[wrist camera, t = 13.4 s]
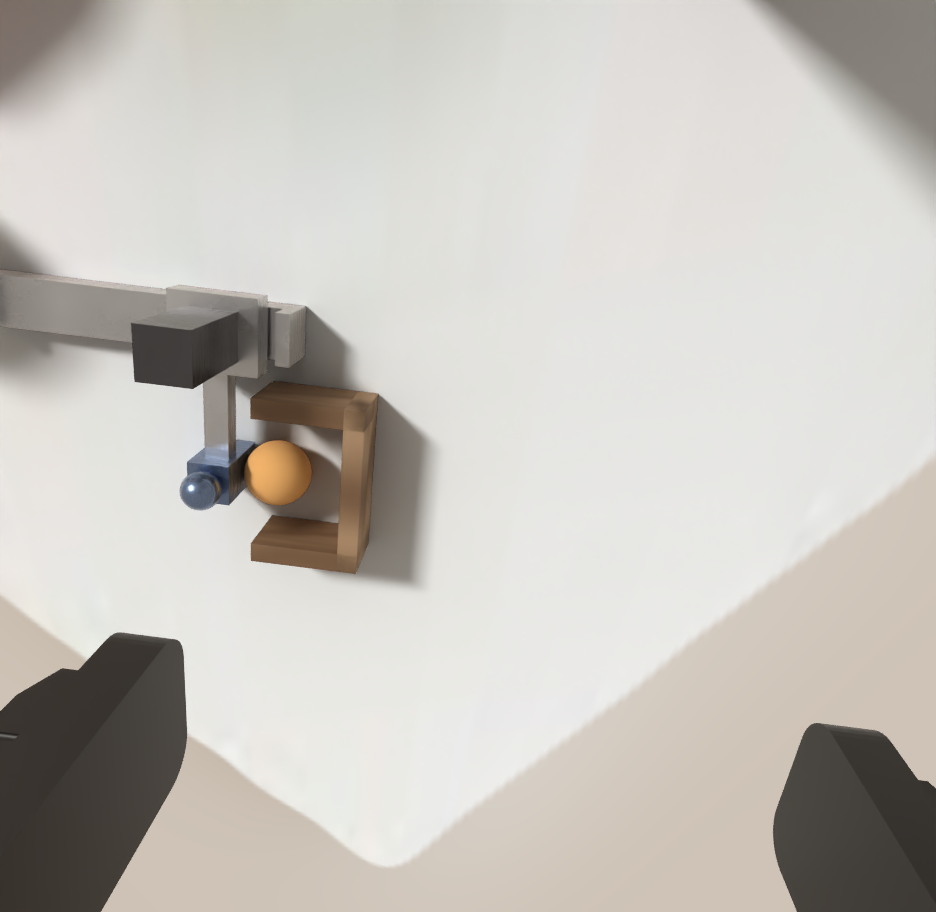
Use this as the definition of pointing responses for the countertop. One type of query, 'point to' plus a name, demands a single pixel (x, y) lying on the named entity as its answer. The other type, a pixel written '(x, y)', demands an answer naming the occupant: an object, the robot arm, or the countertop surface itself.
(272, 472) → the ball
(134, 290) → the rail
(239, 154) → the countertop surface
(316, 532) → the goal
